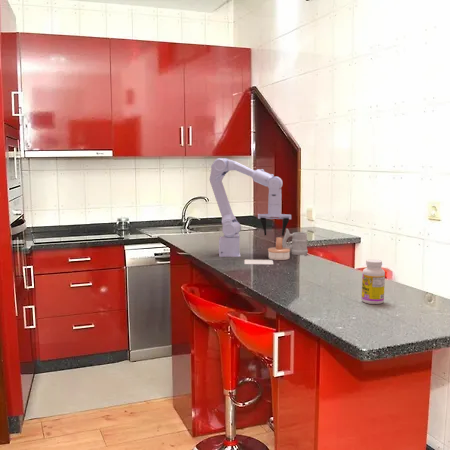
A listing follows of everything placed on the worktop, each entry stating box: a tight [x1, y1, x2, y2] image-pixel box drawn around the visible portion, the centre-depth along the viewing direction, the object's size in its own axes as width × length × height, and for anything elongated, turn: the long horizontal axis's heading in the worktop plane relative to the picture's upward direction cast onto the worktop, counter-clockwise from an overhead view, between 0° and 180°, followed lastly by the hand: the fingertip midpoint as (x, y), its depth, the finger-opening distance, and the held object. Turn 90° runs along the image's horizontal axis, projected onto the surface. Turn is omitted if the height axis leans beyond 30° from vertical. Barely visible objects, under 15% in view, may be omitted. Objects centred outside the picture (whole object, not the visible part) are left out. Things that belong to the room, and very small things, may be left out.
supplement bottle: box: [361, 259, 386, 305], centre depth 169 cm, size 7×7×13 cm
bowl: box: [268, 251, 291, 261], centre depth 242 cm, size 9×9×4 cm
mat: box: [244, 259, 274, 265], centre depth 233 cm, size 12×10×1 cm
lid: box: [267, 236, 291, 253], centre depth 241 cm, size 10×10×6 cm
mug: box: [282, 228, 309, 256], centre depth 253 cm, size 8×12×12 cm, turn 96°
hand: (274, 235), depth 243 cm, fingers open, 7 cm apart
